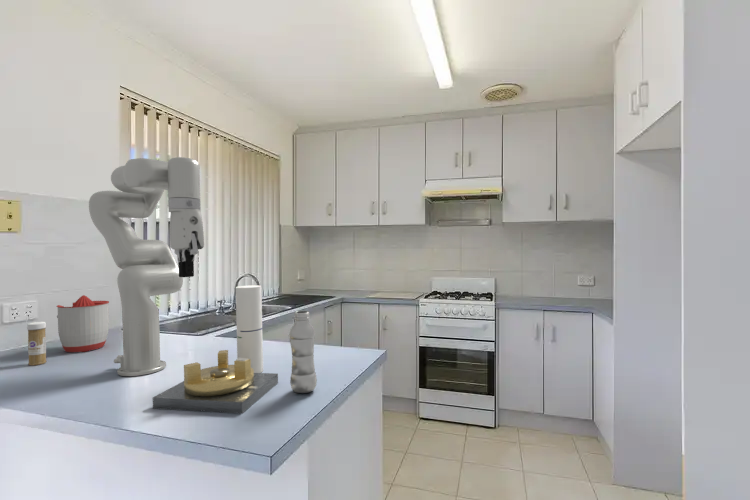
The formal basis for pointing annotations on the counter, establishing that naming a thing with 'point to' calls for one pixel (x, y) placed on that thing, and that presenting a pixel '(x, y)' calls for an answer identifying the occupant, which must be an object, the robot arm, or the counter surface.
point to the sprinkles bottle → (36, 343)
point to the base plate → (216, 397)
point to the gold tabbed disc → (218, 376)
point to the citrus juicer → (83, 325)
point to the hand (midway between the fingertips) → (186, 276)
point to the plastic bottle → (302, 354)
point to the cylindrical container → (250, 325)
